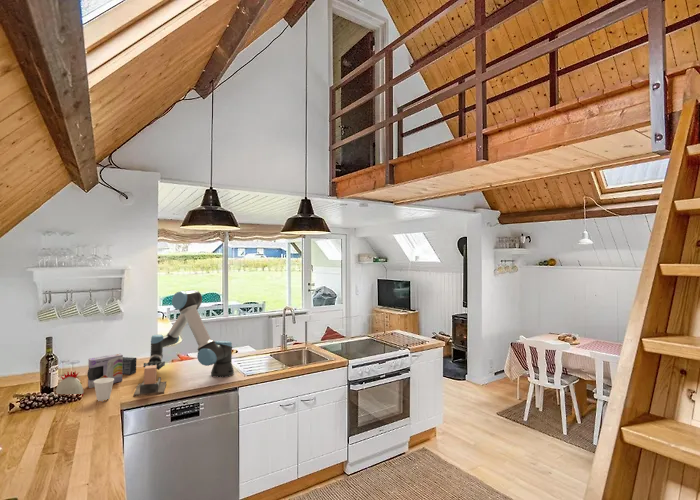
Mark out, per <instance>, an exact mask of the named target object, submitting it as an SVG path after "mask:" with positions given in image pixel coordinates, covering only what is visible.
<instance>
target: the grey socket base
mask: <svg viewBox="0 0 700 500" xmlns="http://www.w3.org/2000/svg"><path fill="white" fill-rule="evenodd" d="M166 386H167V381H162V376H159V377H157V381H156V384H144V380H143V381H142V383H140V382H139V383H137V386H136V388H135V390H134V393H133V397H134V398H136V397H145V396H154V395H164V394H165V391H166ZM133 397H132V398H133Z"/></svg>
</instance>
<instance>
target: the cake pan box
mask: <svg viewBox="0 0 700 500" xmlns="http://www.w3.org/2000/svg"><path fill="white" fill-rule="evenodd" d="M123 357H124V356H123V354H122V353H116V354H109V355H102V356H97V357H92V358H88V362H87V363H88V364H87V365H88V370H87V372H86V373H87V387H88V388H89V389H93V388H95V385H94V381H95V380H97V379H101V378H114V381H113V384H115V383H116V384H117V383H120V382H123V375H122V370H123Z"/></svg>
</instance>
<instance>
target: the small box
mask: <svg viewBox="0 0 700 500" xmlns="http://www.w3.org/2000/svg"><path fill="white" fill-rule="evenodd" d="M137 359H138V357H128V356H123V370H122V376H123V375H124V376H132V375H134V374H136V373H137Z"/></svg>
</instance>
